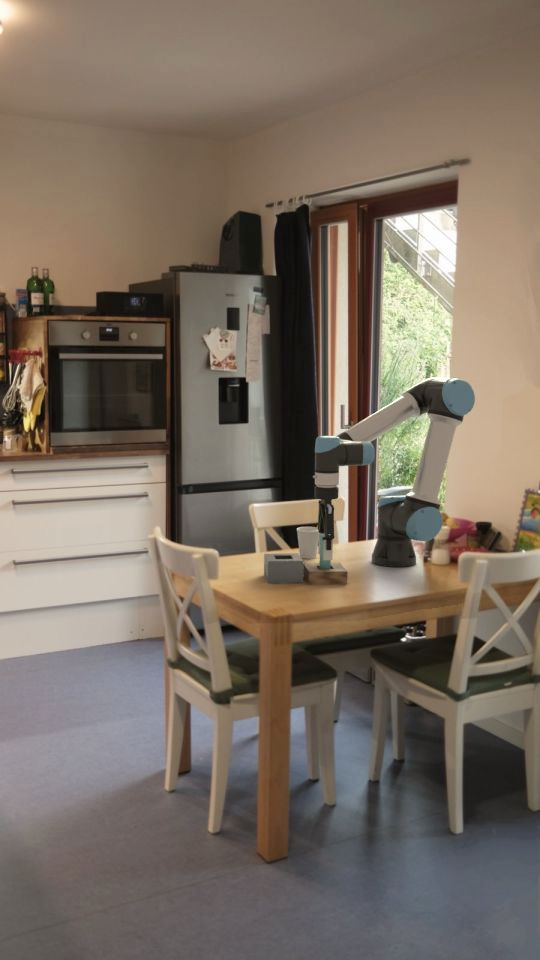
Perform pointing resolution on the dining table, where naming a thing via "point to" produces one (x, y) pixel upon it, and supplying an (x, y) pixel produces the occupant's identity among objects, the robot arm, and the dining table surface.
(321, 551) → the pin
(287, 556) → the socket
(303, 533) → the dixie cup
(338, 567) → the mount
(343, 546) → the dining table surface
